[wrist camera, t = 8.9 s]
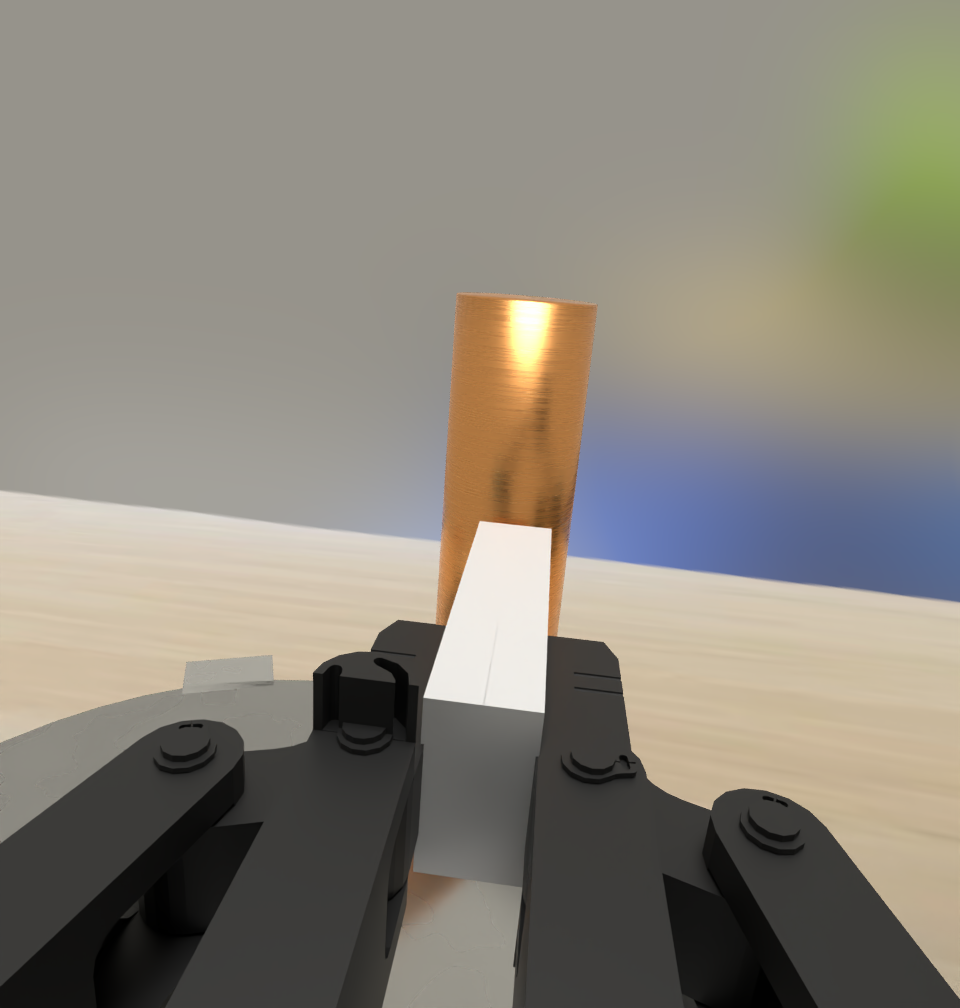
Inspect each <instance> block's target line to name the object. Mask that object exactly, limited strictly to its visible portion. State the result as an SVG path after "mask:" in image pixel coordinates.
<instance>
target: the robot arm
mask: <svg viewBox="0 0 960 1008" xmlns="http://www.w3.org/2000/svg"><path fill="white" fill-rule="evenodd" d="M551 532H552V529H548V528H539V527H530V526H520V525H511V524H502V523H493V522H483V521H480V522H479V525H478V528H477V531H476V535H475V538H474V541H473V544H472V547H471V550H470V553H469V556H468V559H467V563H466V566H465V569H464V572H463V575H462V578H461V581H460V584H459V588H458V591H457V594H456V597H455V600H454V603H453V606H452V609H451V613H450V616H449V619H448V622H447V625H446V626H445V625H436V624H428V623H420V622H411V621H403V620H397V621H396V622H394V623H393V624H391V625H390V626H389V627H387V628H386V629H384V630H383V631H381V632H380V633H379V634H378V636H377V638H376V640H375V642H374V644H373V646H372V648H371V652H355V653H349V654H344V655H339V656H337V657H335V658H332V659H330V660H328V661H326V662H324V663H322V664H321V665H320V666H319V667H318V668H317V669H316V670H315V671H314V672H313V730H312V732H311V734H310V736H309V738H308V740H307V742H303V743H300V744H297V745H294V746H289V747H283V748H277V749H266V750H254V751H244V740H243V739H242V737H241V736H240V734H239V733H238V731H237V730H236V729H234V728H232V727H230V726H228V725H227V724H225V723H223V722H217V721H211V720H205V719H201V720H188V721H180V722H176V723H173V724H170V725H166V726H163V727H160V728H158V729H156V730H154V731H153V732H151V733H149V734H147V735H145V736H144V737H142V738H140V739H139V740H138V741H136V742H135V743H134V744H132V745H131V746H130V747H128V748H127V749H126V750H124V751H123V752H122V753H120V754H119V755H118V756H116V757H115V758H114V759H112V760H111V761H110V762H108V763H107V764H106V765H104V766H103V767H102V768H100V769H99V770H98V771H96V772H95V773H94V774H92V775H91V776H90V777H88V778H87V779H86V780H84V781H83V782H82V783H80V784H79V785H78V786H76V787H75V788H74V789H72V790H71V791H70V792H68V793H67V794H66V795H64V796H63V797H62V798H60V799H59V800H58V801H56V802H55V803H54V804H52V805H51V806H50V807H48V808H47V809H46V810H44V811H43V812H42V813H40V814H39V815H38V816H36V817H35V818H34V819H32V820H31V821H30V822H28V823H27V824H26V825H24V826H23V827H22V828H20V829H19V830H18V831H16V832H15V833H14V834H12V835H11V836H10V837H8V838H7V839H6V840H4V841H3V842H2V843H0V1008H382V1006H383V1002H384V997H385V993H386V989H387V985H388V981H389V977H390V972H391V968H392V964H393V960H394V956H395V951H396V947H397V943H398V939H399V935H400V930H401V926H402V922H403V918H404V914H405V910H406V905H407V888H408V874H409V870H410V866H411V862H412V858H413V854H414V863H413V872H419V873H426V874H433V875H440V876H446V877H453V878H460V879H467V880H474V881H481V882H488V883H494V884H501V885H508V886H515V887H522V896H521V904H520V912H519V920H518V929H517V937H516V945H515V954H514V962H513V967H515V977H514V992H513V1006H512V1008H960V999H959V998H958V996H957V995H956V994H955V993H954V991H953V990H952V989H951V987H950V986H949V985H948V984H947V982H946V981H945V980H944V978H943V977H942V976H941V975H940V973H939V972H938V971H937V969H936V968H935V967H934V966H933V964H932V963H931V962H930V960H929V959H928V958H927V957H926V955H925V954H924V953H923V951H922V950H921V949H920V948H919V946H918V945H917V944H916V942H915V941H914V940H913V938H912V937H911V936H910V935H909V933H908V932H907V931H906V929H905V928H904V927H903V926H902V924H901V923H900V922H899V920H898V919H897V918H896V917H895V915H894V914H893V913H892V911H891V910H890V909H889V908H888V906H887V905H886V904H885V902H884V901H883V900H882V899H881V897H880V896H879V895H878V893H877V892H876V891H875V890H874V888H873V887H872V886H871V884H870V883H869V882H868V881H867V879H866V878H865V877H864V875H863V874H862V873H861V872H860V870H859V869H858V868H857V866H856V865H855V864H854V862H853V861H852V860H851V859H850V857H849V856H848V855H847V853H846V852H845V851H844V850H843V848H842V847H841V846H840V844H839V843H838V842H837V841H836V839H835V838H834V837H833V835H832V834H831V833H830V832H829V830H828V829H827V828H826V827H825V826H824V825H823V824H822V823H821V822H820V821H819V820H818V819H817V818H816V817H815V816H814V815H813V814H812V813H811V812H810V811H808V810H807V809H805V808H803V807H802V806H800V805H798V804H797V803H795V802H793V801H792V800H790V799H788V798H785V797H782V796H780V795H777V794H774V793H771V792H768V791H764V790H754V789H745V788H743V789H738V790H733V791H728V792H725V793H724V794H723V795H721V796H720V797H719V798H717V799H716V800H715V801H714V803H713V807H712V811H711V810H708V809H706V808H703V807H700V806H697V805H695V804H692V803H689V802H686V801H684V800H681V799H679V798H677V797H675V796H672V795H670V794H668V793H666V792H665V791H663V790H662V789H660V788H658V787H657V786H655V785H654V784H653V783H651V782H650V781H649V780H648V779H647V776H646V772H645V770H644V767H643V765H642V763H641V761H640V759H639V758H638V757H637V756H636V755H635V754H634V753H633V752H632V751H631V745H630V738H629V731H628V724H627V717H626V710H625V703H624V697H623V689H622V682H621V675H620V668H619V661H618V659H617V657H616V656H615V655H614V654H613V653H612V651H611V650H610V649H609V648H608V647H607V646H606V644H605V643H604V642H598V641H589V640H581V639H572V638H564V637H556V636H548V610H549V584H550V558H551Z"/></svg>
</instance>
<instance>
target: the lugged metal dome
mask: <svg viewBox="0 0 960 1008" xmlns="http://www.w3.org/2000/svg"><path fill="white" fill-rule="evenodd" d="M597 306H598V305H597V304H594V303H589V302H582V301H574V300H565V299H557V298H547V297H536V296H524V295H510V294H493V293H471V292H463V293H457V296H456V312H455V313H456V314H455V328H454V344H453V361H452V375H451V376H452V377H451V391H450V407H449V423H448V439H447V454H446V470H445V486H444V502H443V517H442V533H441V549H440V565H439V581H438V596H437V612H436V625H445V626H446V625H447V622H448V619H449V616H450V613H451V609H452V606H453V603H454V600H455V597H456V594H457V591H458V588H459V584H460V581H461V578H462V575H463V572H464V569H465V566H466V563H467V559H468V556H469V553H470V550H471V547H472V544H473V541H474V538H475V535H476V531H477V528H478V525H479V522H480V521H483V522H493V523H502V524H511V525H520V526H530V527H539V528H548V529H552V532H551V558H550V584H549V610H548V636H556V637H557V632H558V624H559V615H560V607H561V599H562V591H563V583H564V575H565V567H566V558H567V550H568V542H569V534H570V526H571V518H572V510H573V501H574V493H575V485H576V477H577V469H578V461H579V452H580V445H581V436H582V427H583V420H584V412H585V404H586V396H587V387H588V380H589V371H590V363H591V354H592V347H593V339H594V331H595V323H596V314H597ZM201 719H205V720H211V721H217V722H223V723H225V724H227V725H228V726H230V727H232V728H234V729H236V730H237V731H238V733H239V734H240V736H241V737H242V739H243V740H244V751H254V750H266V749H277V748H283V747H289V746H294V745H297V744H300V743H303V742H307V740H308V738H309V736H310V734H311V732H312V730H313V681H301V680H274V678H273V661H272V655H268V656H255V657H243V658H231V659H218V660H206V661H193V662H186V669H185V676H184V683H183V688H182V689H177V690H172V691H166V692H161V693H156V694H150V695H145V696H141V697H137V698H133V699H129V700H125V701H122V702H118V703H114V704H110V705H106V706H102V707H98V708H95V709H92V710H89V711H86V712H83V713H80V714H77V715H74V716H71V717H68V718H64V719H61V720H58V721H55V722H52V723H50V724H47V725H45V726H42V727H39V728H37V729H34V730H32V731H29V732H27V733H24V734H22V735H19V736H17V737H14V738H12V739H9V740H7V741H4V742H2V743H0V843H2V842H3V841H4V840H6V839H7V838H8V837H10V836H11V835H12V834H14V833H15V832H16V831H18V830H19V829H20V828H22V827H23V826H24V825H26V824H27V823H28V822H30V821H31V820H32V819H34V818H35V817H36V816H38V815H39V814H40V813H42V812H43V811H44V810H46V809H47V808H48V807H50V806H51V805H52V804H54V803H55V802H56V801H58V800H59V799H60V798H62V797H63V796H64V795H66V794H67V793H68V792H70V791H71V790H72V789H74V788H75V787H76V786H78V785H79V784H80V783H82V782H83V781H84V780H86V779H87V778H88V777H90V776H91V775H92V774H94V773H95V772H96V771H98V770H99V769H100V768H102V767H103V766H104V765H106V764H107V763H108V762H110V761H111V760H112V759H114V758H115V757H116V756H118V755H119V754H120V753H122V752H123V751H124V750H126V749H127V748H128V747H130V746H131V745H132V744H134V743H135V742H136V741H138V740H139V739H140V738H142V737H144V736H145V735H147V734H149V733H151V732H153V731H154V730H156V729H158V728H160V727H163V726H166V725H170V724H173V723H176V722H180V721H188V720H201ZM413 863H414V854H413V858H412V862H411V866H410V870H409V874H408V888H407V905H406V910H405V914H404V918H403V922H402V926H401V930H400V935H399V939H398V943H397V947H396V951H395V956H394V960H393V964H392V968H391V972H390V977H389V981H388V985H387V989H386V993H385V997H384V1002H383V1006H382V1008H512V1006H513V992H514V977H515V967H513V962H514V954H515V945H516V937H517V929H518V920H519V912H520V904H521V896H522V887H515V886H508V885H501V884H494V883H488V882H481V881H474V880H467V879H460V878H453V877H446V876H440V875H433V874H426V873H419V872H413Z"/></svg>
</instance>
